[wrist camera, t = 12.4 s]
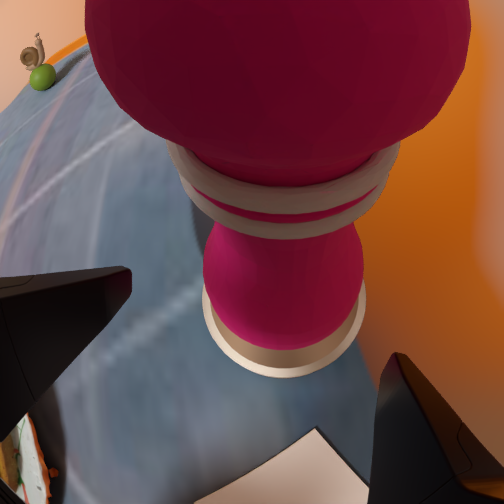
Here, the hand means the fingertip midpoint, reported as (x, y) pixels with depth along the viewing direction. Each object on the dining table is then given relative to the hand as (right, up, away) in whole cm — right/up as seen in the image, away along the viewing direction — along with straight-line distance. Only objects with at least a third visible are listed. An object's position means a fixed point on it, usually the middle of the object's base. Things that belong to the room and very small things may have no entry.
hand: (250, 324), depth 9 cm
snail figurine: (-38, +33, +32) cm, 60 cm away
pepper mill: (+2, -1, +9) cm, 9 cm away
